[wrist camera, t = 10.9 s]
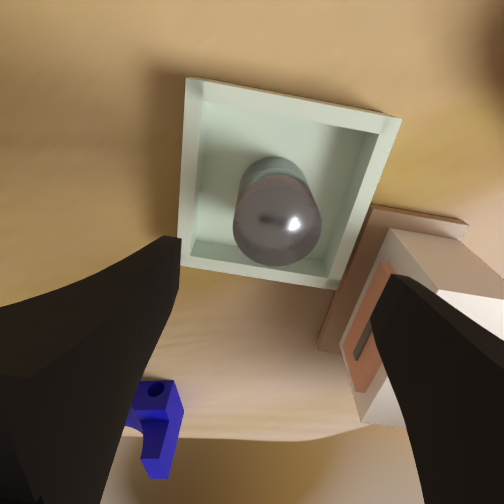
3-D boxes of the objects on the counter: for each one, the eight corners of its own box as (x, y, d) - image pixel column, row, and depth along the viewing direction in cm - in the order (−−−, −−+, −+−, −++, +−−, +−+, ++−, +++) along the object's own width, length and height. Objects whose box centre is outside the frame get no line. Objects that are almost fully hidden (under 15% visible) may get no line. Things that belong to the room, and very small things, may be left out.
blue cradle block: (174, 378, 28) (154, 447, 23) (184, 409, 30) (168, 478, 25) (49, 383, 29) (2, 450, 24) (67, 412, 31) (28, 480, 26)
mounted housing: (462, 220, 19) (552, 287, 13) (388, 353, 25) (427, 441, 19) (369, 203, 19) (418, 265, 13) (316, 342, 25) (332, 429, 19)
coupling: (315, 163, 17) (333, 195, 13) (297, 226, 19) (308, 272, 15) (244, 150, 17) (239, 178, 13) (234, 216, 19) (227, 259, 15)
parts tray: (384, 112, 17) (402, 119, 14) (329, 268, 22) (336, 290, 19) (196, 76, 16) (185, 77, 14) (184, 245, 21) (175, 264, 19)
